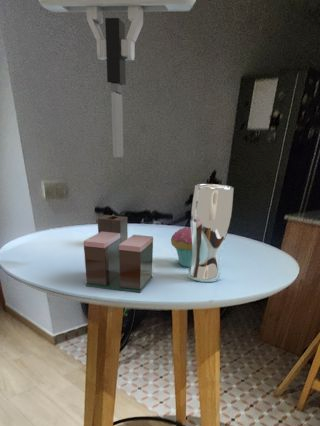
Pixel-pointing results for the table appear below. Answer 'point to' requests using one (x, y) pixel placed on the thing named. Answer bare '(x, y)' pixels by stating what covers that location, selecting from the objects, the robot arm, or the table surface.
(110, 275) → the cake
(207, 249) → the beer glass
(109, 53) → the knife
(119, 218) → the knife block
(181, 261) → the cupcake
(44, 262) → the table surface
